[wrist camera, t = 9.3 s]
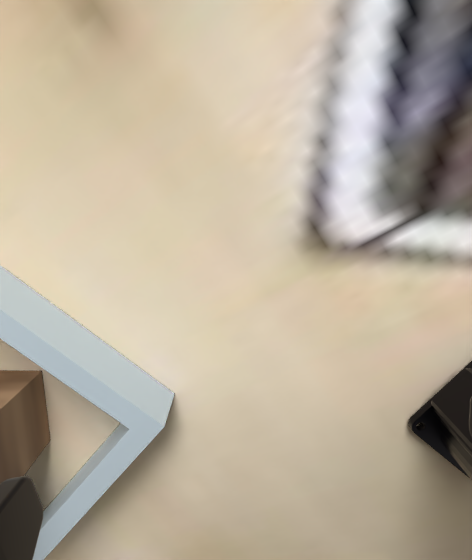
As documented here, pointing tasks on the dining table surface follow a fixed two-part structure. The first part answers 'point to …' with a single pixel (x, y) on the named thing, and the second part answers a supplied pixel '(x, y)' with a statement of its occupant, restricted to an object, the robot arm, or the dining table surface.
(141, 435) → the frame
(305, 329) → the dining table surface
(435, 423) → the robot arm
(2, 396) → the tall wooden post
